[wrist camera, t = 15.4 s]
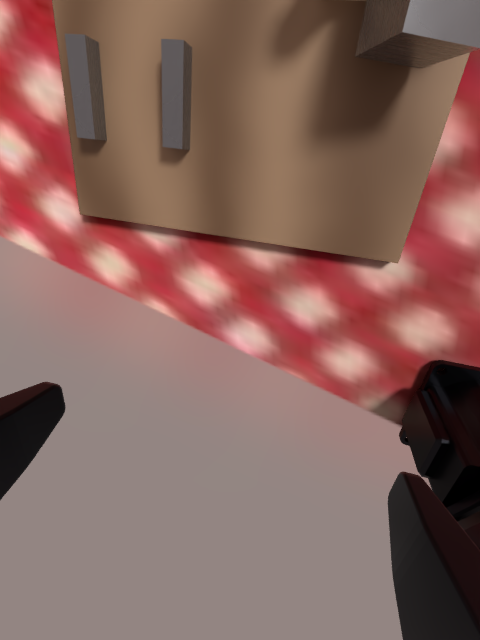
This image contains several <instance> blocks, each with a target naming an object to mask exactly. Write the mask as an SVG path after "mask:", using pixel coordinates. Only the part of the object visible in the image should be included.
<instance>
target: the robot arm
mask: <svg viewBox="0 0 480 640" xmlns="http://www.w3.org/2000/svg"><path fill="white" fill-rule="evenodd" d="M439 368H444V370H442V371H437V370H438V369H439ZM64 412H65V402H64V397H63V393H62V389H61V387H60V385H58V384H54V383H50V382H42V383H40V384H37V385H34V386H32V387H29V388H26V389H23V390H21V391H18V392H15V393H13V394H10V395H7V396H4V397H1V398H0V500H1V499H2V497H3V496H4V495H5V494H6V493H7V491H8V490H9V489H10V488H11V486H12V485H13V484H14V483H15V482H16V480H17V479H18V478H19V477H20V475H21V474H22V473H23V472H24V470H25V469H26V468H27V467H28V465H29V464H30V463H31V461H32V460H33V459H34V457H35V456H36V454H37V453H38V451H39V449H40V448H41V447H42V445H43V444H44V443H45V441H46V440H47V438H48V437H49V435H50V434H51V432H52V431H53V429H54V428H55V426H56V425H57V423H58V422H59V421H60V419H61V418H62V416H63V414H64ZM402 423H403V427H402V429H401V431H400V433H399V437H400V440H401V442H402V443H403V444H405V445H409V446H410V448H411V451H412V454H413V457H414V461H415V464H416V467H417V470H418V472H419V473H420V475H421V476H422V477H426V478H428V479H429V482H430V485H431V488H432V490H431V488H430V487H429V486H428V485H427V484H426V482H425V481H424V480H423V479H422V478H421V477H420V476H418V475H415V474H411V473H407V472H401V473H400V474H399V475H398V477H397V479H396V481H395V482H394V484H393V486H392V489H391V491H390V493H389V496H388V513H389V527H390V544H391V560H392V572H393V581H394V587H395V594H396V600H397V606H398V612H399V618H400V624H401V631H402V637H403V640H480V368H479V367H474V366H469V365H464V364H459V363H454V362H449V361H443V360H438V361H435V362H434V363H432V365H431V366H430V368H429V370H428V372H427V375H426V377H425V379H424V381H423V383H422V385H421V388H420V389H418V390H417V391H415V393H414V395H413V397H412V399H411V402H410V404H409V406H408V408H407V410H406V413H405V415H404V417H403V419H402ZM406 437H407V438H406Z"/></svg>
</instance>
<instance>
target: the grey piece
mask: <svg viewBox="0 0 480 640" xmlns="http://www.w3.org/2000/svg"><path fill="white" fill-rule="evenodd" d="M478 49H480V0H367V1H366V5H365V10H364V15H363V20H362V25H361V30H360V35H359V40H358V45H357V49H356V54H355V57H359V58H365V59H370V60H376V61H381V62H387V63H392V64H398V65H403V66H409V67H414V68H420V69H421V68H424V67H427V66H430V65H433V64H436V63H439V62H442V61H445V60H448V59H451V58H454V57H457V56H460V55H463V54H466V53H469V52H472V51H475V50H478Z"/></svg>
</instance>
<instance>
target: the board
mask: <svg viewBox="0 0 480 640" xmlns="http://www.w3.org/2000/svg"><path fill="white" fill-rule="evenodd" d="M52 3H53V10H54V18H55V26H56V34H57V41H58V49H59V57H60V64H61V72H62V80H63V87H64V95H65V103H66V110H67V118H68V126H69V134H70V141H71V149H72V157H73V164H74V172H75V180H76V187H77V195H78V203H79V210H80V214H82V215H88V216H95V217H101V218H108V219H114V220H121V221H127V222H134V223H140V224H147V225H153V226H160V227H166V228H172V229H179V230H185V231H192V232H198V233H205V234H211V235H218V236H224V237H231V238H237V239H244V240H250V241H257V242H263V243H270V244H276V245H283V246H289V247H296V248H302V249H309V250H315V251H322V252H328V253H335V254H341V255H348V256H354V257H361V258H367V259H374V260H380V261H387V262H393V263H398V262H399V259H400V256H401V253H402V250H403V247H404V244H405V241H406V238H407V236H408V233H409V230H410V227H411V224H412V221H413V218H414V215H415V212H416V209H417V206H418V203H419V200H420V197H421V194H422V192H423V189H424V186H425V183H426V180H427V177H428V174H429V171H430V168H431V165H432V162H433V159H434V156H435V153H436V150H437V148H438V145H439V142H440V139H441V136H442V133H443V130H444V127H445V124H446V121H447V118H448V115H449V112H450V109H451V107H452V104H453V101H454V98H455V95H456V92H457V89H458V86H459V83H460V80H461V77H462V74H463V71H464V68H465V65H466V63H467V60H468V57H469V54H470V52H469V53H466V54H463V55H460V56H457V57H454V58H451V59H448V60H445V61H442V62H439V63H436V64H433V65H430V66H427V67H424V68H421V69H420V68H414V67H409V66H403V65H398V64H392V63H387V62H381V61H376V60H370V59H365V58H359V57H355V54H356V49H357V45H358V40H359V35H360V30H361V25H362V20H363V15H364V10H365V5H366V1H354V0H52ZM65 34H83V35H86V36H88V37H90V38H92V39H94V40H95V41H97V42H99V50H100V62H101V74H102V86H103V98H104V110H105V122H106V134H107V141H104V140H95V139H87V138H78V137H77V132H76V124H75V115H74V107H73V99H72V91H71V82H70V74H69V66H68V58H67V49H66V41H65ZM161 39H176V40H184V41H185V42H187V43H188V44H189V45H190V46H191V47H192V84H191V128H190V150H185V149H176V148H168V147H163V137H162V58H161Z"/></svg>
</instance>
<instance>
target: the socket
mask: <svg viewBox="0 0 480 640" xmlns="http://www.w3.org/2000/svg"><path fill="white" fill-rule="evenodd" d="M65 41H66V49H67V58H68V66H69V74H70V82H71V91H72V99H73V107H74V115H75V124H76V132H77V137H78V138H87V139H95V140H104V141H107V134H106V122H105V110H104V98H103V86H102V74H101V62H100V50H99V42H97V41H95V40H94V39H92V38H90V37H88V36H86V35H83V34H65ZM161 58H162V137H163V147H168V148H176V149H185V150H190V128H191V84H192V47H191V46H190V45H189V44H188V43H187V42H185V41H184V40H176V39H161Z"/></svg>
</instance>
